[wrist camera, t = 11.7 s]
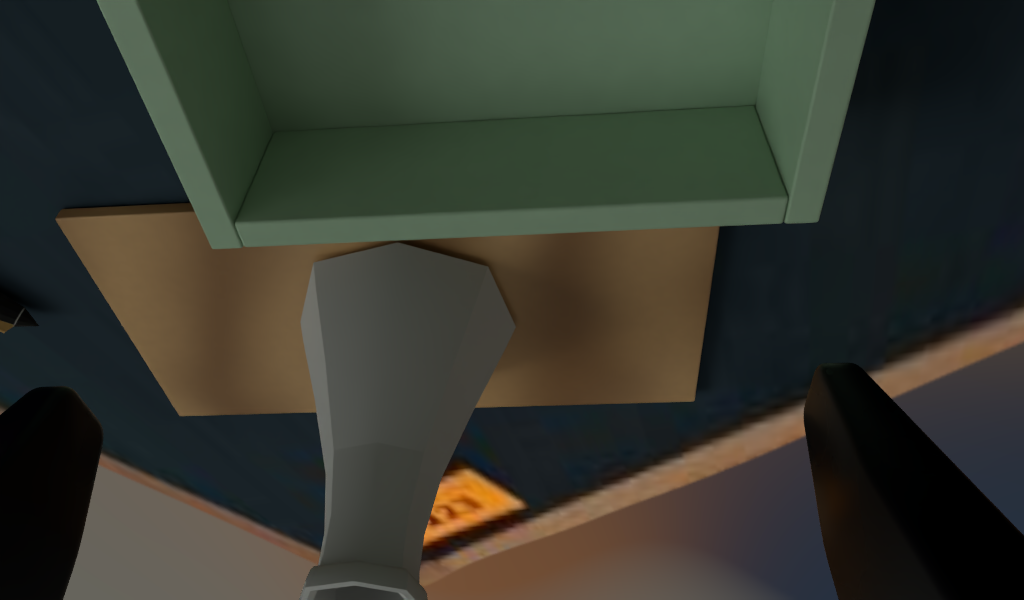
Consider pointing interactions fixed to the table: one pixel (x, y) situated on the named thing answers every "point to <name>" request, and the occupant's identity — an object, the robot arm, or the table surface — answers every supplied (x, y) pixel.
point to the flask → (392, 403)
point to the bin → (492, 113)
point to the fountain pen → (13, 314)
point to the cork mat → (511, 259)
